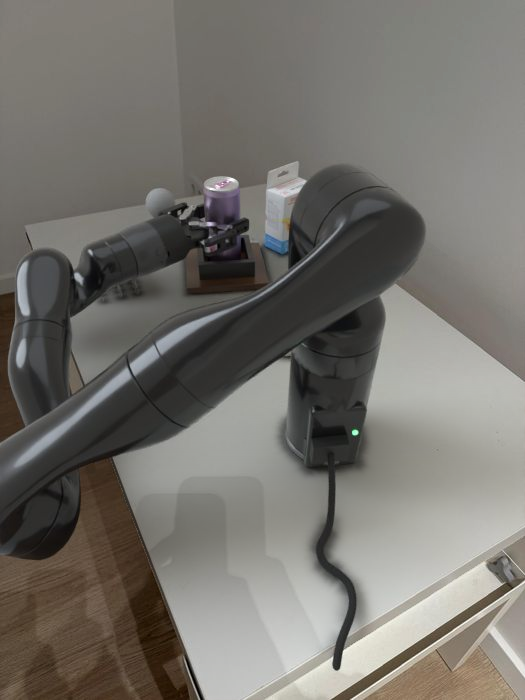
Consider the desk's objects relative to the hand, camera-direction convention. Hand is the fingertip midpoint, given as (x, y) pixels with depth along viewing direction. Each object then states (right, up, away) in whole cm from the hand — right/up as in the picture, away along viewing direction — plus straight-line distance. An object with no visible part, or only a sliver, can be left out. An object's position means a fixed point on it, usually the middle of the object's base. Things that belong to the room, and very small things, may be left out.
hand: (231, 214), depth 88 cm
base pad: (-1, -8, +6) cm, 10 cm away
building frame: (-20, -12, +2) cm, 23 cm away
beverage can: (-1, -8, +5) cm, 9 cm away
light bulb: (-14, -1, +15) cm, 20 cm away
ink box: (+10, -2, +13) cm, 17 cm away
